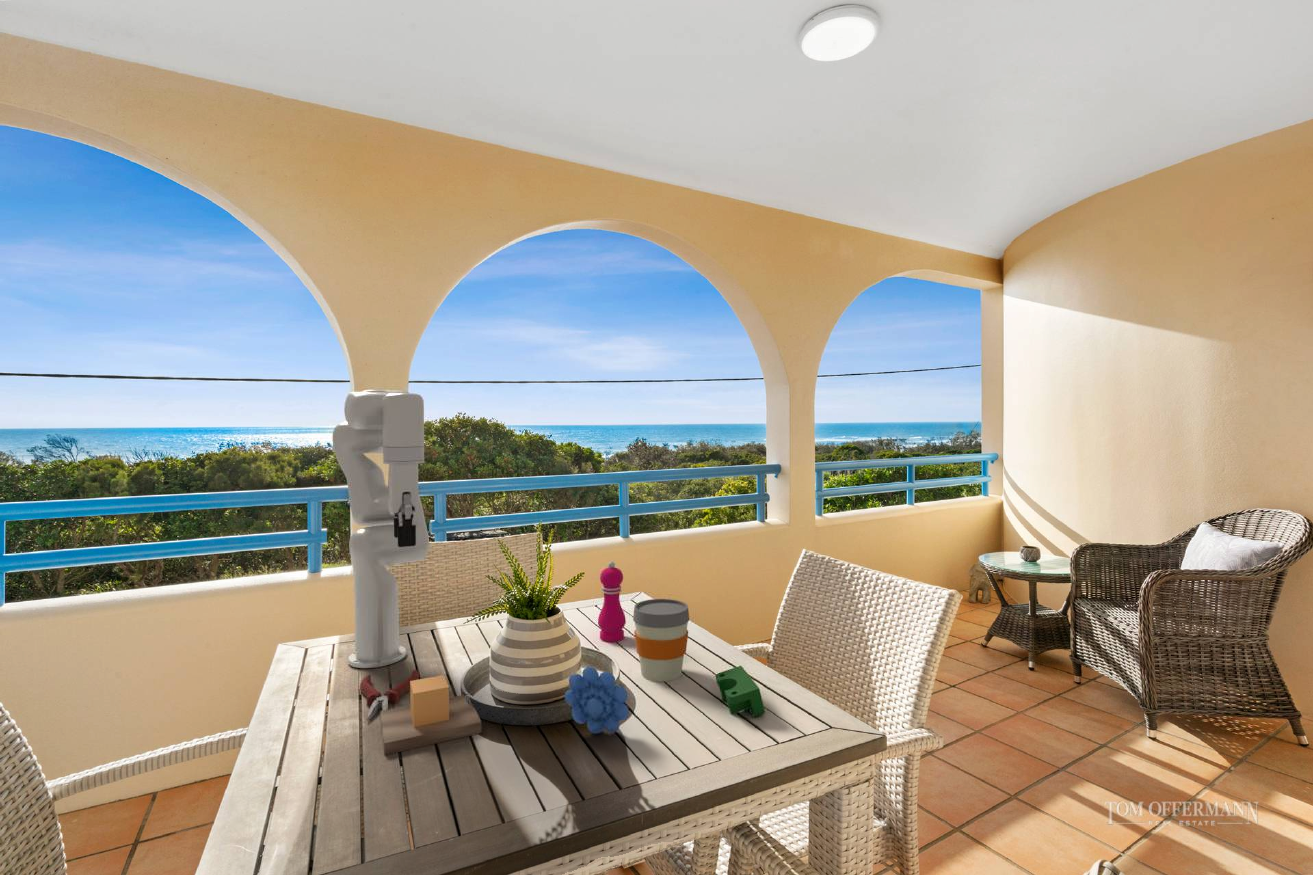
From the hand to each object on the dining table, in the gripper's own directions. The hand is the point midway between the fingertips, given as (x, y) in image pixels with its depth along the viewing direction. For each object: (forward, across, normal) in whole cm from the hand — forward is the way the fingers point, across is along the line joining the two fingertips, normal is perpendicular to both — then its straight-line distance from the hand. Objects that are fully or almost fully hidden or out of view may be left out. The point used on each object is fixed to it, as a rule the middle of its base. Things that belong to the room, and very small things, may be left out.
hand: (404, 541), depth 122 cm
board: (+32, +14, +3) cm, 35 cm away
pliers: (+33, -5, -5) cm, 34 cm away
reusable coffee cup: (+32, +12, +52) cm, 62 cm away
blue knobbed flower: (+32, +30, +29) cm, 53 cm away
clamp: (+32, +33, +58) cm, 74 cm away
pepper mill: (+33, -14, +51) cm, 62 cm away
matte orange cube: (+30, +13, +3) cm, 33 cm away
